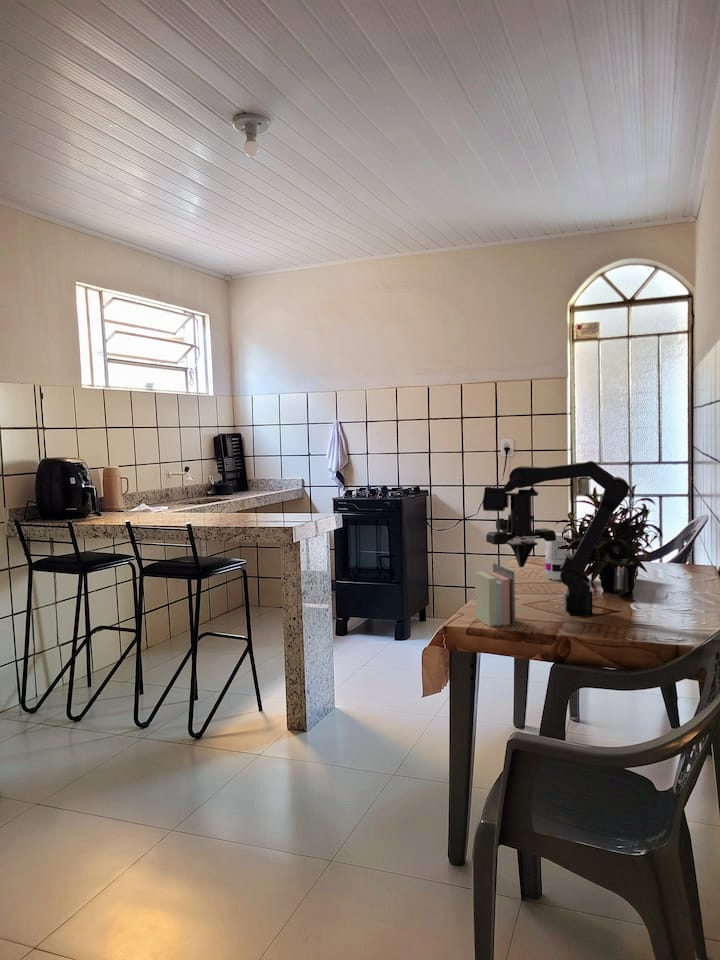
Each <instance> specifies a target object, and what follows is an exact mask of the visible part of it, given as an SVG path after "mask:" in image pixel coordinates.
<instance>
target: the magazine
mask: <svg viewBox="0 0 720 960" xmlns="http://www.w3.org/2000/svg"><path fill="white" fill-rule="evenodd" d="M638 576H639V568H638V569H637V571H636V575H635V582H636V581H637V580H636V579H637V577H638ZM613 580H614V581H613V591H614V592H616V594H619V598H624V594H626V593H629V592H630V591H629V588H628V586H629V585H628V570H627V568H626V567H625V566H623V567H622V568H621V567H620V566H618V567H617V566H616V567H615V569H614V579H613Z"/></svg>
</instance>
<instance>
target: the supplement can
mask: <svg viewBox="0 0 720 960" xmlns="http://www.w3.org/2000/svg"><path fill="white" fill-rule="evenodd" d="M554 532H555V533H556V541H545V577H546V578H547V579H548V580H550V579H552V580H551V581H555V580H561V578H560V574H561V571H562V570H560V567H561V564H563V563H564V561H565V559H566V556H567V553H569V554H570V555H571V556H572V549H571V550H568V551H565V550H563V549H560V548H559V549H558V547H561V546H565V545H567V542H566V541H565V540H564V539H563V538H564V537H565V538H571V536H570V533H567V532H556V531H554ZM562 533H564V534H563V538H562ZM571 539H572V538H571Z"/></svg>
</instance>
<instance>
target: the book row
mask: <svg viewBox="0 0 720 960" xmlns="http://www.w3.org/2000/svg"><path fill="white" fill-rule="evenodd" d="M474 591H475V593H474V594H475V595H474V600H475V607H474V608H475V609H474V610H475V618H476V620H478V621H479V622H480V621H481V623H483V624H485V625H486V624H487V625H486V626H488V627H489V626H490V627H496V626H495V625H497V626H508V625H507V624H510V579H508V578H506V577H504V576H502V575H500V574H498V573H495V572H493V571H492V572H488V573H486V572H484V571H475V572H474ZM501 624H503V625H501ZM510 625H511V624H510Z"/></svg>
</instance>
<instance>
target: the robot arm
mask: <svg viewBox="0 0 720 960" xmlns="http://www.w3.org/2000/svg"><path fill="white" fill-rule="evenodd" d="M584 477H589V478H590V479H591V480H593V482H595V483H596V484H598V485H599V486H600V487H601V488H603V489H604V490H603V493H602V497H601V499H600V500H601V501H600V504H599V506H598V509H597V510H596V512H595V513H594V516H593V518H592V520H591V522H590V524H589V526H588V528H587V529H586V531H585V534H584V536H582V539H581V540H580V543H579V545H578V547H577V548H576V550H575V551H574V552H573V554H571V555H570V554H569V553H567V556H566V559H565V561H564V563H563V564H561V567H560V570H562V571H561V574H560V578H561V582H562V584H563V585H565V586H566V587H567V589H566V594H564V610H565V611H566V613H567V614H568V615H569V616H594V615H595V613H594V611H593V590H591V583H592V580H591V579H590V578H589V577H588V576H587V575H586V574H585V571H586V568H587V565H588V561H589V559H590V556H591V555H592V552H593V551H594V548H595V547H596V545H597V542H598V541H599V539H600V538H601V535H602V533H603V532H604V530H605V527H606V526H607V524H608V523H609V521H610V518H611V516H612V515H613V513H614V512H615V511H616V510H617V509H618V508H619V506H620V505H621V504H622V503H623V502H624V500H625V499H626V497H627V496H628V495H629V492H630V491H629V490H630V487H629V485H628V482H627V480H625V478H622V477H619V476H614V475H612V474H611V473H610V472H608V470H605V469H604V468H602V467H601V466H599V465H598V463H597V462H596V461H594V460H589V461H586V462H581V463H580V462H579V463H569V464H563V465H562V464H561V465H555V466H545V467H543V466H542V467H541V466H531V465H530V466H527V465H521V466H517V467H516V468H513V469H512V470H511V471H510V473H509V480H508V481H507V483H505V484H504V486H503V487H491V486H486V487H484V493H483V499H482V508H483V509H482V510H483V511H484V512H505V510H506V508H507V509H508V508H509V507H510V513H508V517H507V518H508V519H507V520H505V518H496V519H495V528H496V531H489V532H487V534H486V536H485V537H486V542H487V543H489V544H492V545H495V546H496V545H499V546H500V545H508V546H509V547H511V549H512V550H513V553H514V555H515V558H516V562H517V564H518V567H519V568H524V567H525V565H526V563H527V560H528V558H529V557H530V554H531V552H532V550H533V549H534V547H535V546H538V542H536V539H537V540H539V539H543V540H544V541H545V542H546V541H556V533H555V532H556V531H554V530H553V529H549V528H535V529H534V530H533V529H532V527H533V524H532V521H533V520H534V519H535V516H534V515H533V514H532V509H533V508H532V506H533V505H532V502H533V501H532V497H538V495H540V493H539V492H538V491H537V490H536V489H535V488H534V486H533V485H537V484H539V483H544V482H549V481H556V480H557V481H558V480H565V479H575V478H584ZM530 486H531V487H530ZM526 487H530V488H529V489H525V488H526ZM523 488H524V489H523ZM516 489H518V490H517V491H518V492H513V490H516ZM509 496H510V497H509ZM509 505H510V506H509Z"/></svg>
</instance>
